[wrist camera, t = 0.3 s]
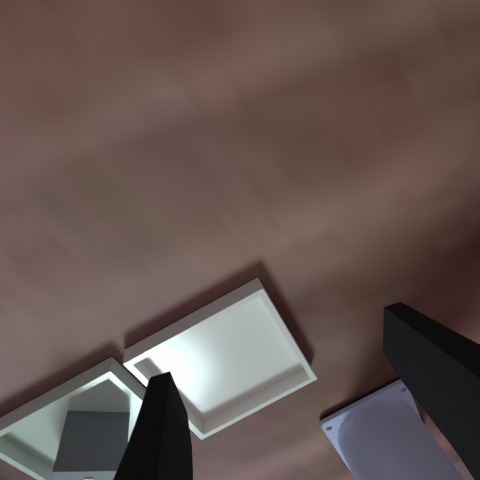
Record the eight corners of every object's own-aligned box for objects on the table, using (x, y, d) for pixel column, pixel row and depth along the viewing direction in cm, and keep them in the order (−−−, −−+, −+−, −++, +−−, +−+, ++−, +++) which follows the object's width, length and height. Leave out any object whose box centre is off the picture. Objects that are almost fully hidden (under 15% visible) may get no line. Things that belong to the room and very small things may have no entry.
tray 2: (310, 366, 27) (317, 379, 26) (199, 425, 27) (201, 439, 26) (258, 277, 22) (263, 288, 21) (124, 349, 22) (122, 364, 21)
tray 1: (189, 430, 27) (190, 445, 26) (82, 487, 28) (79, 504, 27) (112, 356, 23) (110, 371, 22) (-16, 426, 23) (-25, 444, 22)
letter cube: (130, 412, 25) (125, 472, 21) (119, 449, 26) (114, 511, 23) (67, 410, 24) (52, 473, 20) (60, 449, 25) (45, 514, 22)
